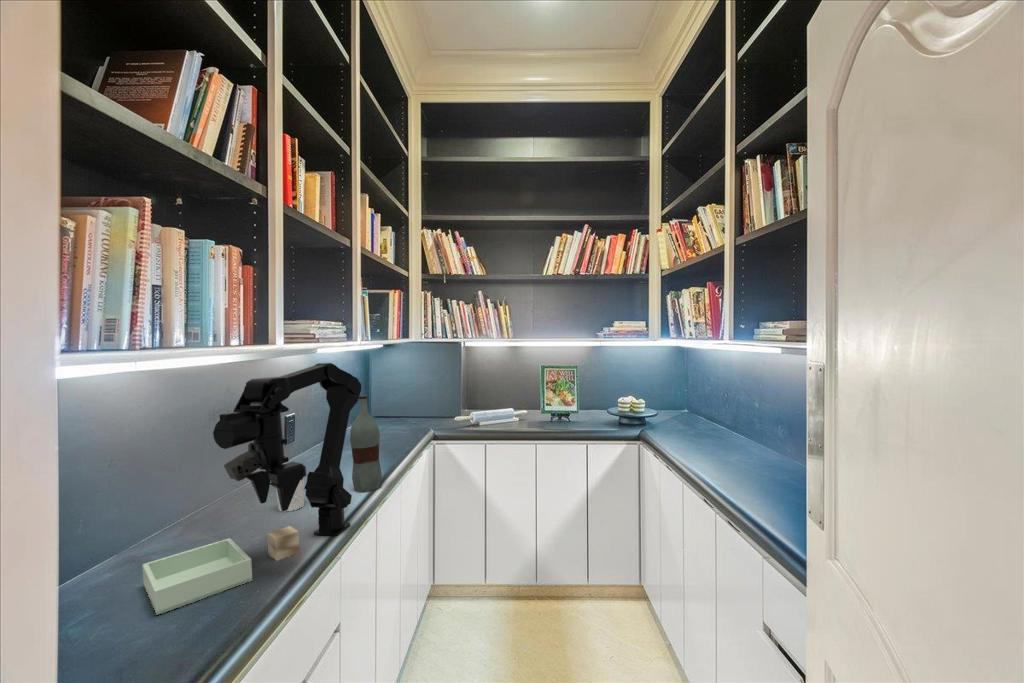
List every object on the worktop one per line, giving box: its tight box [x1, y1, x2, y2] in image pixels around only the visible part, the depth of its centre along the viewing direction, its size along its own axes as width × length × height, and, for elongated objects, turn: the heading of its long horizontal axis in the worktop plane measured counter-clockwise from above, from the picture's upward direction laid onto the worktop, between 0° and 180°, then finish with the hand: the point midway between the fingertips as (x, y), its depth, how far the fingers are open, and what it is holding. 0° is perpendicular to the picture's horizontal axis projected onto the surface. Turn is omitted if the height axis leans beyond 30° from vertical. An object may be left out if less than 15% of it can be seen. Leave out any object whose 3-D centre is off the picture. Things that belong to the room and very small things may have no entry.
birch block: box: [266, 525, 300, 562], centre depth 107 cm, size 5×5×5 cm
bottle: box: [349, 394, 383, 493], centre depth 152 cm, size 9×9×30 cm
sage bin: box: [142, 537, 253, 616], centre depth 95 cm, size 16×16×4 cm
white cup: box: [275, 477, 306, 513], centre depth 137 cm, size 8×8×10 cm
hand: (273, 506), depth 103 cm, fingers open, 9 cm apart
